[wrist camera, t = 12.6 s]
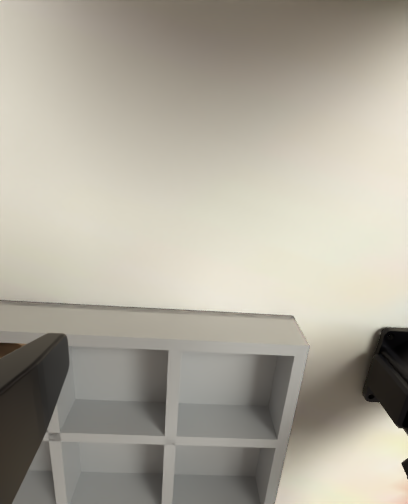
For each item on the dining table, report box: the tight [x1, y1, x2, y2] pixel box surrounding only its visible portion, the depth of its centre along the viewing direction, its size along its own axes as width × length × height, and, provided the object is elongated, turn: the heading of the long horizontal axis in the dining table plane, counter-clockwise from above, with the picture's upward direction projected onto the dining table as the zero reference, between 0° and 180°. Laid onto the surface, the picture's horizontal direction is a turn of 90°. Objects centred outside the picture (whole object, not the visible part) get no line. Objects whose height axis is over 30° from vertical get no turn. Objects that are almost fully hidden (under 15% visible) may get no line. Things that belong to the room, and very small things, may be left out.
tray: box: [0, 300, 310, 504], centre depth 23 cm, size 24×16×4 cm
